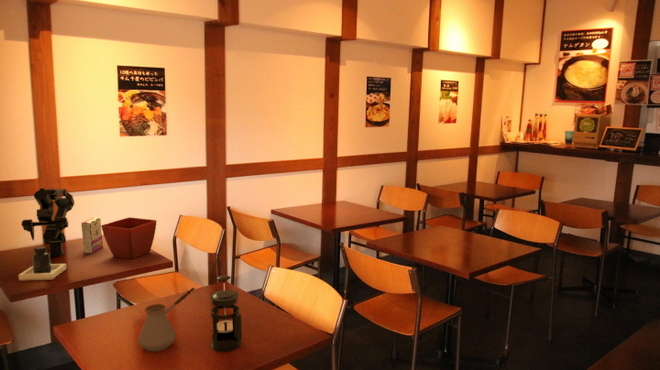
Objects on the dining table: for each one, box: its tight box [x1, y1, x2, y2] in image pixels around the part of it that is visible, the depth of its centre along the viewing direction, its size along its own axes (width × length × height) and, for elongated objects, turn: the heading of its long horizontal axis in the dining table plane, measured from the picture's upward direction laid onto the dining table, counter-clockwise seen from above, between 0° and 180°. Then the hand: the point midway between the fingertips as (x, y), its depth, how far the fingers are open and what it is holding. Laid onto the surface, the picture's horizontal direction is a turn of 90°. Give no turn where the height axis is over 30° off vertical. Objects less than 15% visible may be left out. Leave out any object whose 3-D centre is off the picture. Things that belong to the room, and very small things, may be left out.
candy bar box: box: [80, 217, 104, 254], centre depth 255 cm, size 11×5×16 cm, turn 179°
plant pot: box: [101, 217, 157, 260], centre depth 248 cm, size 19×19×17 cm
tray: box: [18, 263, 68, 281], centre depth 220 cm, size 14×14×2 cm
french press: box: [209, 274, 243, 353], centre depth 155 cm, size 12×9×23 cm
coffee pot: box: [137, 287, 198, 352], centre depth 159 cm, size 21×12×15 cm, turn 143°
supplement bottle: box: [31, 245, 52, 273], centre depth 219 cm, size 7×7×12 cm
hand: (44, 239), depth 228 cm, fingers open, 9 cm apart
